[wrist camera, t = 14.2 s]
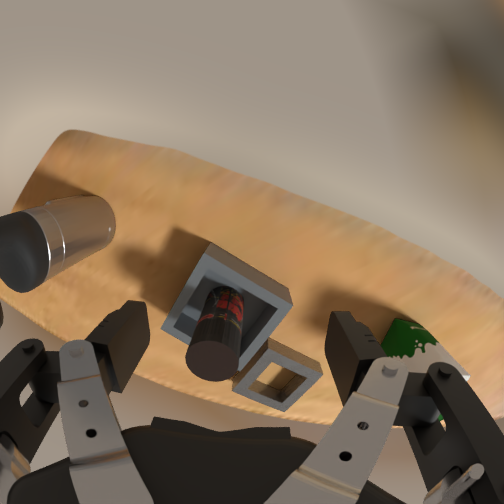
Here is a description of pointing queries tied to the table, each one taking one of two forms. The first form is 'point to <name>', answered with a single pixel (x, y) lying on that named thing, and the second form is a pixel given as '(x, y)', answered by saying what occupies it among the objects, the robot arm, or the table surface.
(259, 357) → the socket collar
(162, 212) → the table surface
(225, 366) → the deodorant
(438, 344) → the milk carton
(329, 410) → the table surface
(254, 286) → the bin
